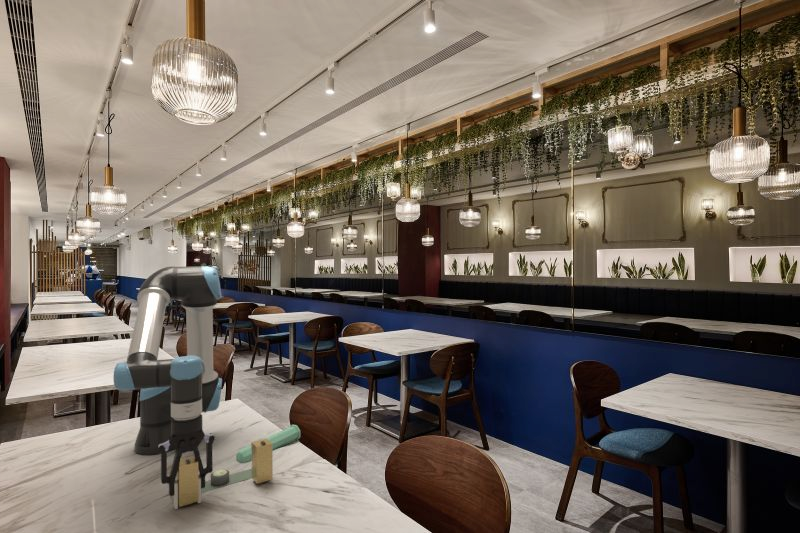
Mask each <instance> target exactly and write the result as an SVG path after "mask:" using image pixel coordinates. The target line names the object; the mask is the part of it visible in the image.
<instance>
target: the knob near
mask: <svg viewBox="0 0 800 533" xmlns="http://www.w3.org/2000/svg"><path fill="white" fill-rule="evenodd" d="M198 474H199V469H198V461H196V459H195V456H194V455H193V456H189V457H184V458H181V459H180V463H179V465H178V471H177V475H176V479H177V482H178V508H180V507H183V506H184V507H189V506H191V505H192V504H194V503H198V501H199V489H198ZM176 479H175V480H176Z"/></svg>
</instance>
